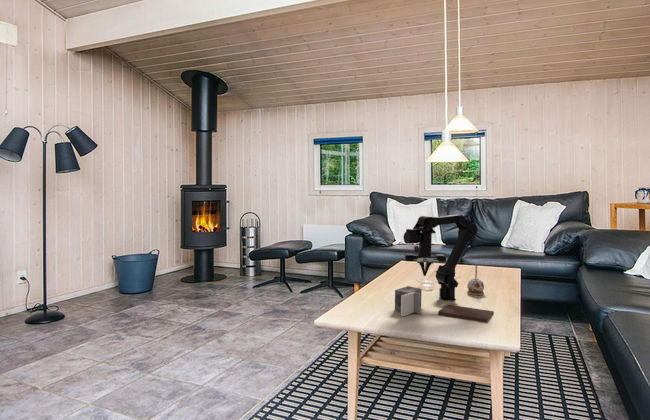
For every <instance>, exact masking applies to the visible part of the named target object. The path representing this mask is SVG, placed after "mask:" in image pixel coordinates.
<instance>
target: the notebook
mask: <svg viewBox="0 0 650 420" xmlns="http://www.w3.org/2000/svg"><path fill="white" fill-rule="evenodd" d="M494 313H495V312H494V311H493V310H487V309H480V308H475V307H468V306H460V305H455V304H449V303H448V304H445V306H443V308H441V309H440V310H438V312H437V315H438V316H443V317H448V318H449V317H450V318H455V319H461V320H465V321H466V320H468V321H473V322H479V323H485V322H487V323H488V322H489V320H490V319H491V318H492V316H493V315H494ZM492 314H493V315H492ZM491 315H492V316H491ZM490 317H491V318H490Z"/></svg>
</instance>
